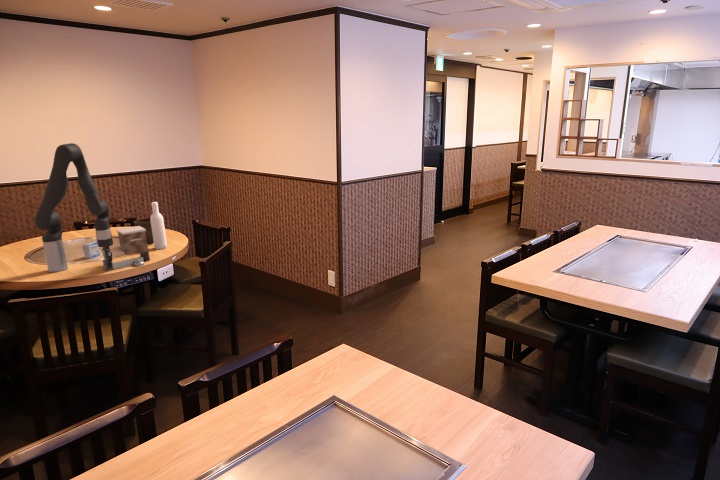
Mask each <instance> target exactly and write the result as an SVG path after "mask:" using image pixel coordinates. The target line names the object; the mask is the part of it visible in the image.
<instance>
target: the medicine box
mask: <svg viewBox="0 0 720 480" xmlns="http://www.w3.org/2000/svg"><path fill="white" fill-rule="evenodd" d="M82 250H83V254H84V259H93V258H96V257H99V256H101V252H100V247H98V243H97V241H91V242H87V243H86V244H83V245H82Z"/></svg>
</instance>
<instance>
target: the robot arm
mask: <svg viewBox="0 0 720 480" xmlns="http://www.w3.org/2000/svg"><path fill="white" fill-rule="evenodd" d="M55 149H56V150H55V152H54V156H53V157H54V158H53V163H52V168H51V172H50V174H49V179H48V180H47V184H46V187H45V190H44V191H45V192H44V193H43V197H42V200H41V203H40V205H39V208H38V209H37V212H36V213H35V217H34V225H35V227H36V228H37V229H38V230H41V231H45V233H44V234H43V235H42V236H41V240H42V245H43V250H44V256H45V261H46V266H47V270H48V272H49V273H56V272H62V271H66V270H68V268H69V267H68V261H67V257H66V253H65V247H64V243H63V238H62V237H63V226H62V222H61V221H62V220H61V217H60V215H59V213H58V212H56V211H55V209H56V207H57V206H58V205H59V204H60V203H61V202H62V200H63V199H64V198H65V196H66V195H67V192H68V187H69V180H68V179H69V178H68V176H67V172H68V171H67V170H68V168H69V166H70V163H73V165H74V167H75V169H76V173H77V181H78V187H79V189H80V190H81V192H82V194H83V195H84V199H85V201H86V202H85V203H86V206H87V209H88V211H89V212H90V213H91V214H92V215H93V216H96V219H95V220H94V223H93V224H94V228H95V237H96V242H97V243H98V247H99V248H101V251H102V256H103V260H104V259H106V260H107V265H108V268H112V263H113V252H112V249H111V248H110V247H111V246H113V245H114V240H113V234H112V231H111V225H110V221H109V220H110V206H109V204H108V203H107V201H105V200H99V197H98V196H99V195H100V192H99V190H98V188H97V186H96V184H95V182H94V181H93V180H94V179H93V178H92V176H91V173H90V170H89V167H88V164H87V162H86V159H85V156H84V154H83V150H82V149H81V147H80V146H79V145H78V144H76V143H74V142H73V143H70V142H69V143H63V144H60V145H58V146H57V147H56V148H55Z"/></svg>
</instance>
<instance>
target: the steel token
mask: <svg viewBox="0 0 720 480" xmlns="http://www.w3.org/2000/svg"><path fill="white" fill-rule="evenodd" d="M144 262H145V260H144V261H137V262H134V265H133V266H134V267H142V266H144V265H145V263H144Z"/></svg>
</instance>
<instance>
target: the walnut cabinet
mask: <svg viewBox="0 0 720 480" xmlns="http://www.w3.org/2000/svg"><path fill="white" fill-rule="evenodd" d="M145 231H146V229H144V228H143V227H141V226H135V225H134V226H130V227H123V228H117V229H116V232H117V235H118V242H119V246H120V247H119V248H120V251H121V252H122V253H123V254H124V255H126V256H129V255H134V254H138V253H139V257H143V260H144V262H150V261H151V259H150V253H149V246H148V245H149V244H148V245H147V238H146V232H145Z"/></svg>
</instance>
